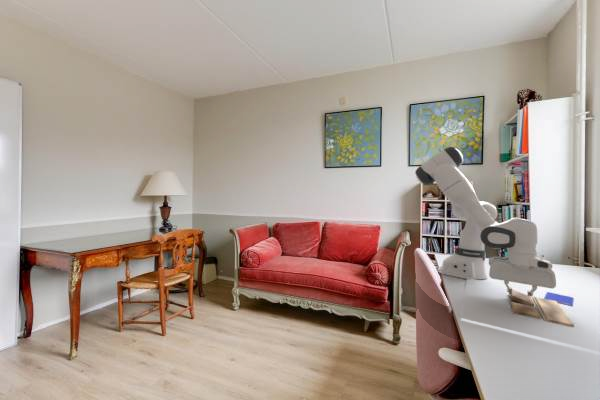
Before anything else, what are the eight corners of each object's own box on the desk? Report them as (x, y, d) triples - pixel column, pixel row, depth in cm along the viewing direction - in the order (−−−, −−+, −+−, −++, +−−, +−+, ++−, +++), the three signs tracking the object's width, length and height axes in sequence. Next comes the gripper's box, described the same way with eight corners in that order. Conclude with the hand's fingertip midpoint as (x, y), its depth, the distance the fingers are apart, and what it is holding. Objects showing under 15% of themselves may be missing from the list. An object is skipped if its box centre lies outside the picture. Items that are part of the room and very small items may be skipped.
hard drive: (572, 305, 100) (573, 297, 108) (543, 298, 106) (546, 291, 114) (572, 309, 100) (573, 301, 108) (543, 302, 106) (546, 295, 114)
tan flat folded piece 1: (513, 314, 93) (513, 310, 93) (510, 304, 101) (511, 301, 101) (540, 320, 89) (540, 316, 89) (535, 310, 97) (535, 306, 97)
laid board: (544, 322, 88) (544, 318, 88) (532, 299, 107) (532, 296, 107) (573, 328, 84) (574, 324, 84) (556, 304, 103) (556, 300, 103)
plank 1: (510, 298, 103) (511, 295, 102) (508, 291, 111) (509, 288, 110) (533, 307, 99) (534, 304, 99) (529, 299, 107) (530, 296, 107)
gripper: (489, 256, 108) (487, 290, 108) (558, 265, 96) (556, 303, 96) (488, 254, 113) (487, 286, 113) (554, 262, 101) (552, 297, 102)
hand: (519, 294), depth 105 cm, fingers open, 5 cm apart
